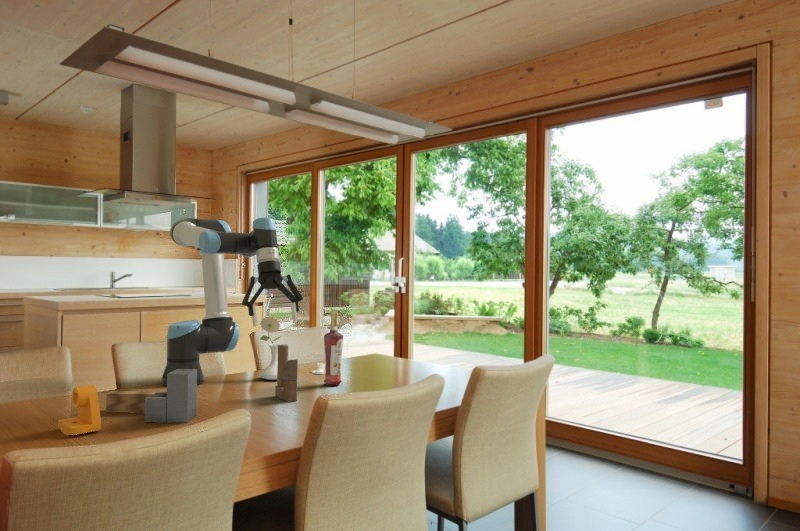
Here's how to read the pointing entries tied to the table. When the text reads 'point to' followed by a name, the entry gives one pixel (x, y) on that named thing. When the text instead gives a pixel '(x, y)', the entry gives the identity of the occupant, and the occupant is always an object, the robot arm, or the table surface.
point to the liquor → (333, 353)
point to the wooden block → (286, 376)
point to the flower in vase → (270, 326)
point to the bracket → (83, 412)
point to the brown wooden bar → (127, 401)
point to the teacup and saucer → (320, 369)
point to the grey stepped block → (174, 399)
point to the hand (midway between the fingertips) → (275, 324)
